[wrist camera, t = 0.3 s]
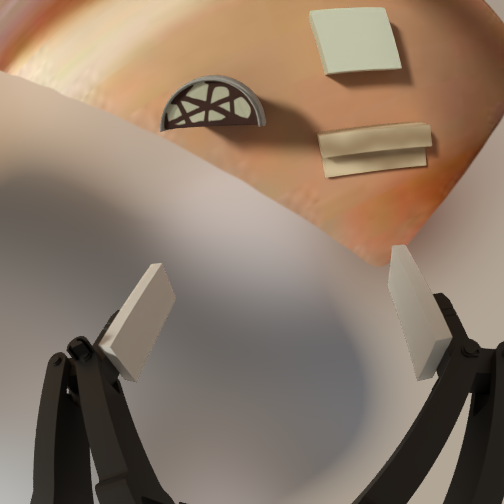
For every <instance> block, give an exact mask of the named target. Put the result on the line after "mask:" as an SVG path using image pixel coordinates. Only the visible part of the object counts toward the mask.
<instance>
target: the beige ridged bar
mask: <svg viewBox="0 0 504 504" xmlns="http://www.w3.org/2000/svg"><path fill="white" fill-rule="evenodd" d="M317 137H318V142H319V147H320V152H321V157H322V163H323V168H324V174H325V177H326V178H328V177H334V176H341V175H348V174H355V173H362V172H370V171H378V170H386V169H395V168H404V167H414V166H424V165H426V153H425V147H426V146H432V139H431V129H430V125H428V124H425V123H422V122H409V123H394V124H382V125H371V126H362V127H353V128H345V129H338V130H331V131H324V132H318V133H317Z"/></svg>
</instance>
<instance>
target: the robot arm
mask: <svg viewBox="0 0 504 504" xmlns="http://www.w3.org/2000/svg"><path fill="white" fill-rule="evenodd" d="M388 289H389V291H390V294H391V297H392V300H393V303H394V305H395V308H396V311H397V314H398V317H399V320H400V323H401V326H402V329H403V333H404V336H405V339H406V342H407V345H408V349H409V352H410V356H411V359H412V363H413V366H414V370H415V374H416V378H417V381H420V380H425V379H429V378H432V377H433V376H434V374H435V372H436V371H437V374H438V376H439V378H438V380H437V381H436V383H435V385H434V386H433V388H432V391H431V393H430V395H429V397H428V399H427V401H426V402H425V404H424V406H423V408H422V410H421V411H420V413H419V415H418V416H417V418H416V419H415V421H414V423H413V424H412V426H411V428H410V429H409V431H408V432H407V434H406V435H405V437H404V439H403V440H402V441H401V443H400V444H399V446H398V447H397V449H396V450H395V451H394V453H393V454H392V456H391V457H390V458H389V460H388V461H387V462H386V464H385V465H384V466H383V468H382V469H381V470H380V471H379V473H378V474H377V475H376V477H375V478H374V479H373V480H372V481H371V482H370V484H369V485H368V486H367V487H366V488H365V489H364V491H363V492H362V493H361V494H360V495H359V496H358V497H357V498H356V499H355V500H354V502H353V503H352V504H407V502H408V501H409V500H410V498H411V497H412V496H413V494H414V493H415V491H416V490H417V489H418V487H419V486H420V484H421V483H422V481H423V480H424V478H425V476H426V475H427V474H428V472H429V470H430V469H431V467H432V466H433V464H434V462H435V460H436V459H437V457H438V455H439V454H440V452H441V450H442V448H443V447H444V445H445V443H446V441H447V439H448V437H449V435H450V433H451V431H452V429H453V427H454V425H455V423H456V421H457V419H458V417H459V415H460V412H461V410H462V407H463V405H464V403H465V400H466V398H467V396H468V393H472V397H471V404H470V410H469V416H468V421H467V426H466V431H465V435H464V440H463V444H462V448H461V451H460V455H459V459H458V462H457V465H456V469H455V472H454V475H453V478H452V481H451V484H450V487H449V489H448V492H447V495H446V497H445V500H444V502H443V504H502V500H503V497H504V342H501V343H500V344H499V345H498V346H497V348H496V349H485V348H481V347H480V346H479V344H478V343H477V342H475V341H474V340H472V339H469V338H468V336H467V334H466V332H465V330H464V328H463V326H462V323H461V322H460V319H459V317H458V315H456V312H455V310H454V309H453V306H452V304H451V302H450V300H449V299H448V298H447V297H446V296H445V295H444V294H443V293H438V294H432V292H431V291H430V289H429V287H428V285H427V283H426V281H425V279H424V277H423V275H422V273H421V272H420V270H419V268H418V266H417V265H416V263H415V261H414V259H413V257H412V256H411V254H410V252H409V251H408V249H407V247H406V246H405V245H394V246H392V253H391V262H390V271H389V279H388ZM175 300H176V296H175V294H174V292H173V289H172V287H171V284H170V283H169V280H168V277H167V275H166V272H165V269H164V267H163V264H162V263H159V264H151V265H150V267H149V268H148V270H147V271H146V273H145V274H144V275H143V277H142V278H141V280H140V281H139V283H138V284H137V286H136V287H135V289H134V290H133V292H132V293H131V295H130V296H129V298H128V299H127V301H126V302H125V304H124V305H123V307H122V308H121V310H117V311H116V312H115V313H114V314H113V315H112V316H111V317H110V319H109V320H108V322H107V324H106V325H105V327H104V329H103V330H102V331H101V333H100V335H99V336H98V338H97V339H96V341H95V343H94V344H93V346H92V345H91V344H90V342H89V341H88V340H87V338H86V337H84V336H79V337H76V338H75V339H73V340H72V341H71V342H70V343H69V344H68V346H67V352H68V353H69V354H70V355H71V357H72V358H67V356H66V355H65V354H64V353H62V352H59V353H56V354H54V355H53V356H52V357H51V358H50V360H49V362H48V366H47V370H46V375H45V380H44V384H43V389H42V395H41V401H40V406H39V414H38V420H37V429H36V438H35V450H34V471H33V488H34V489H33V495H32V499H31V503H30V504H94V501H93V493H92V481H91V467H90V449H91V453H92V456H93V460H94V463H95V467H96V470H97V473H98V476H99V483H98V484H96V486H95V491H96V494H97V497H98V500H99V503H100V504H175V503H174V501H173V500H172V498H171V497H170V496H169V495H168V494H167V493H166V492H165V491H164V490H163V488H162V487H161V485H160V483H159V481H158V479H157V477H156V475H155V473H154V471H153V468H152V466H151V464H150V462H149V460H148V457H147V455H146V453H145V450H144V448H143V446H142V443H141V441H140V438H139V436H138V433H137V431H136V428H135V425H134V423H133V420H132V417H131V414H130V411H129V409H128V405H127V402H126V400H125V396H124V393H123V390H122V387H121V383H120V381H119V380H118V376H119V374H121V376H122V377H123V378H124V379H125V380H128V381H133V382H137V380H138V378H139V376H140V374H141V371H142V369H143V367H144V365H145V363H146V360H147V358H148V356H149V354H150V352H151V349H152V348H153V345H154V343H155V341H156V339H157V337H158V335H159V333H160V330H161V329H162V326H163V324H164V322H165V320H166V318H167V316H168V314H169V312H170V310H171V308H172V306H173V304H174V301H175ZM67 388H68V389H69V393H68V394H67ZM179 504H186V503H182V502H179Z"/></svg>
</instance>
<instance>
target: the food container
mask: <svg viewBox="0 0 504 504" xmlns="http://www.w3.org/2000/svg"><path fill="white" fill-rule="evenodd" d="M258 124H259V127H260V126H265V125H266V117H265V113H264V109H263V107H262V105H261V103H260V101H259V99H258V98H257V96H256V95H255V94H254V93H253V91H252V90H251V89H250V88H248V87H247V86H246V85H244V84H243V83H242V82H240V81H238V80H236V79H233V78H230V77H227V76H220V75H209V76H203V77H200V78H197V79H194V80H192V81H190V82H188V83H187V84H185V85H183V86H182V87H181V88H179V89H178V90H177V91H176V92H175V93H174V94H173V95H172V96H171V98H170V99H169V100H168V102H167V104H166V106H165V108H164V111H163V114H162V117H161V123H160V132H162V131H165V130H169V129H175V128H187V127H202V126H220V125H258Z"/></svg>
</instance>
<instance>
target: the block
mask: <svg viewBox="0 0 504 504" xmlns="http://www.w3.org/2000/svg"><path fill="white" fill-rule="evenodd" d="M309 21H310V24H311V28H312V31H313V34H314V37H315V40H316V44H317V47H318V51H319V54H320V58H321V61H322V65H323V69H324V73H325V75H331V74H340V73H350V72H362V71H379V70H395V69H401V68H402V67H401V62H400V58H399V54H398V50H397V47H396V43H395V39H394V36H393V32H392V29H391V26H390V23H389V20H388V17H387V14H386V11H385V8H374V7H363V8H337V9H325V10H315V11H310V14H309Z"/></svg>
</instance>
